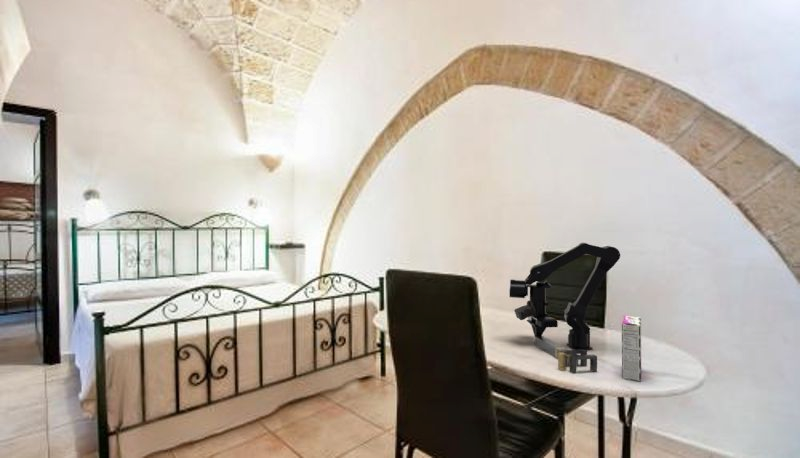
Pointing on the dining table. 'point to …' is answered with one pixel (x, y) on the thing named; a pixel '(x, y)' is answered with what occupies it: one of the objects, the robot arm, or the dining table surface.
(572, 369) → the dark grey arch
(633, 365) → the candy bar box
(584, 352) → the grey arch block
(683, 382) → the dining table surface
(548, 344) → the long grey bar
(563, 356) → the sight post
